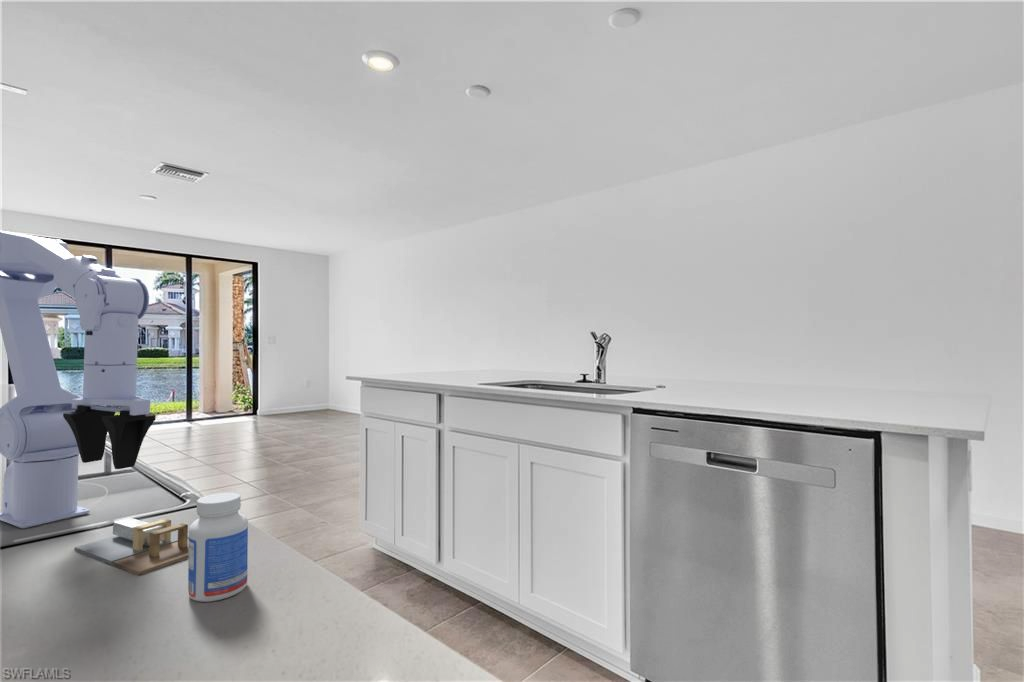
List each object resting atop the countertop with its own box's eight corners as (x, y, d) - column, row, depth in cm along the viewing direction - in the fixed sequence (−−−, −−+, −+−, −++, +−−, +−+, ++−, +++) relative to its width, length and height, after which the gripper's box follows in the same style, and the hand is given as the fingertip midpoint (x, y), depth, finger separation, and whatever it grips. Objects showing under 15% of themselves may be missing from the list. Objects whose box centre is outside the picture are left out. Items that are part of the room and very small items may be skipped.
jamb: (113, 565, 59) (114, 538, 59) (199, 537, 68) (199, 514, 68) (139, 575, 57) (139, 547, 57) (224, 545, 66) (225, 521, 66)
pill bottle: (258, 580, 56) (259, 491, 56) (225, 605, 51) (227, 506, 51) (211, 577, 57) (213, 489, 57) (174, 601, 51) (176, 504, 51)
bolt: (112, 534, 67) (113, 521, 67) (129, 529, 69) (130, 517, 69) (147, 545, 63) (147, 532, 63) (164, 540, 65) (164, 527, 65)
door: (74, 550, 64) (75, 525, 64) (160, 526, 72) (160, 504, 72) (111, 564, 60) (112, 537, 60) (197, 537, 68) (198, 513, 69)
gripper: (46, 363, 69) (43, 464, 69) (108, 367, 63) (105, 477, 63) (105, 362, 76) (102, 454, 75) (167, 365, 70) (164, 465, 69)
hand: (108, 464), depth 70 cm, fingers open, 7 cm apart
